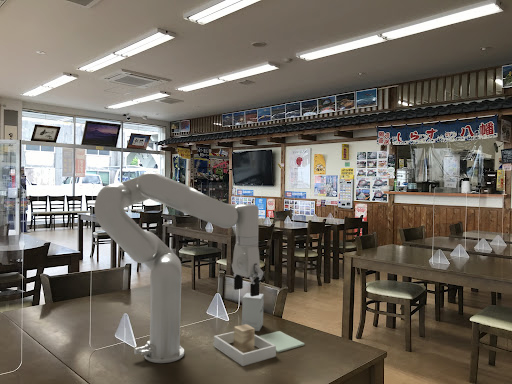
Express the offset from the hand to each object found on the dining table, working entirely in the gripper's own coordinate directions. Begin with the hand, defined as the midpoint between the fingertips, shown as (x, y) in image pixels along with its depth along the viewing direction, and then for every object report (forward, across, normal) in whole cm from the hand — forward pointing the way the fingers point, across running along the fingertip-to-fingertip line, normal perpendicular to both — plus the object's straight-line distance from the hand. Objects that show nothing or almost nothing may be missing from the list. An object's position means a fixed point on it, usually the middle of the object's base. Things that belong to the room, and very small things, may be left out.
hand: (246, 292), depth 133 cm
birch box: (+20, 0, -1) cm, 20 cm away
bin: (+20, 0, -1) cm, 20 cm away
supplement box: (+20, -17, +15) cm, 30 cm away
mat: (+20, 0, +14) cm, 25 cm away
